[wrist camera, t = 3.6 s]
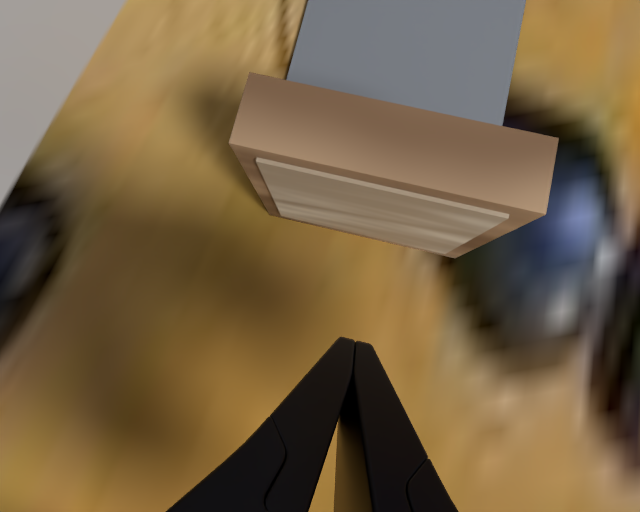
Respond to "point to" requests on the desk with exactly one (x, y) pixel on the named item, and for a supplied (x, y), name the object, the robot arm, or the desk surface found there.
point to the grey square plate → (413, 52)
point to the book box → (388, 167)
